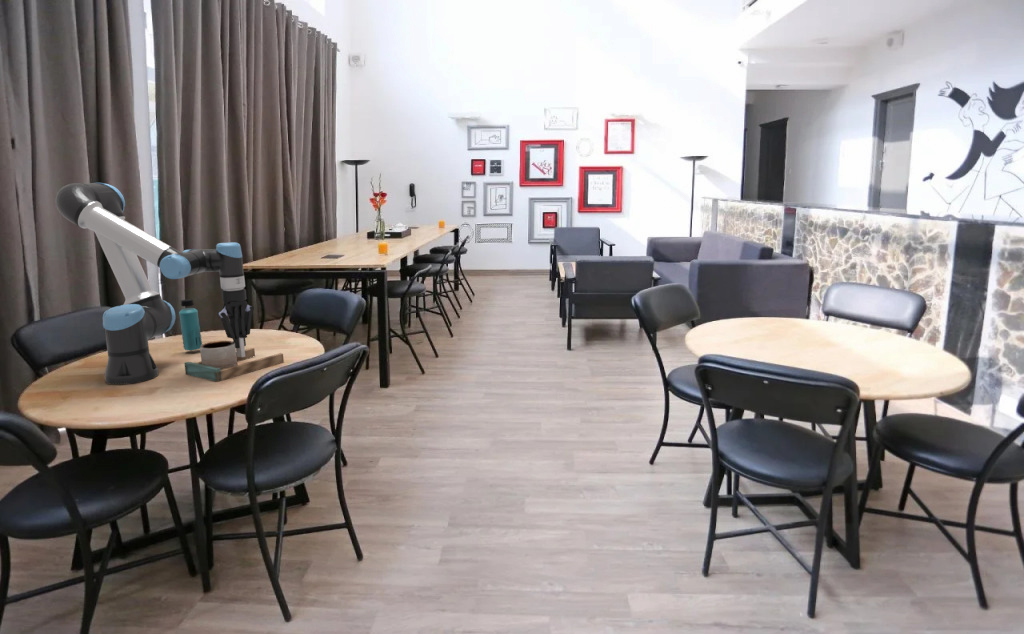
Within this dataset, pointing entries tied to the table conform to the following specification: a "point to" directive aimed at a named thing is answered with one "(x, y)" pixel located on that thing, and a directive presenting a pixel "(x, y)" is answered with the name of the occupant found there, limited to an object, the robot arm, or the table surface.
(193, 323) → the beverage bottle
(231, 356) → the planter
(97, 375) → the table surface
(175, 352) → the table surface
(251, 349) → the bay
